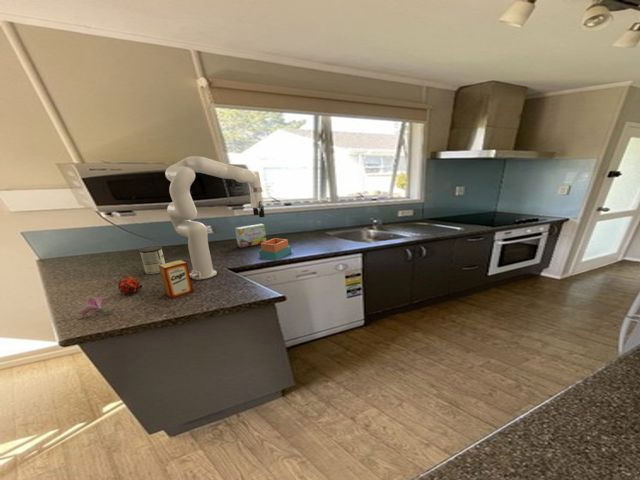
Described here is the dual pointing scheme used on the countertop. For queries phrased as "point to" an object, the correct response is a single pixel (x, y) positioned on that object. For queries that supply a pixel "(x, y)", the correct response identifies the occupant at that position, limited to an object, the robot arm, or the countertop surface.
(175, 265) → the baking soda box
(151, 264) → the coffee can
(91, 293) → the countertop surface
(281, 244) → the upper bin
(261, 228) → the snack box
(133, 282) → the dragon fruit
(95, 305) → the lily
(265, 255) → the lower bin
